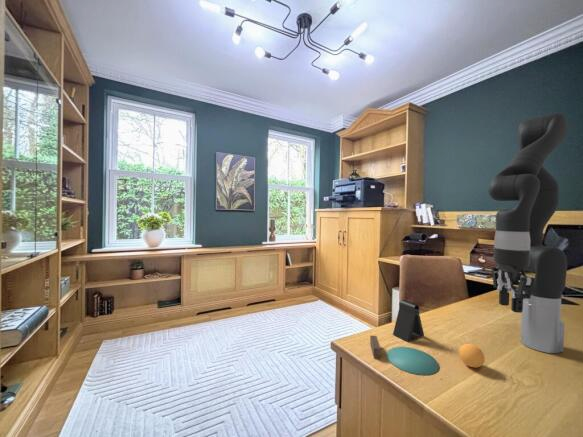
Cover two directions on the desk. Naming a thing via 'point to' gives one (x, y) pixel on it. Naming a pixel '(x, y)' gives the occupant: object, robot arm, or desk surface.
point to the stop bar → (375, 347)
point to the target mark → (412, 360)
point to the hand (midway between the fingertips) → (510, 308)
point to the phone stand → (408, 322)
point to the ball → (471, 355)
